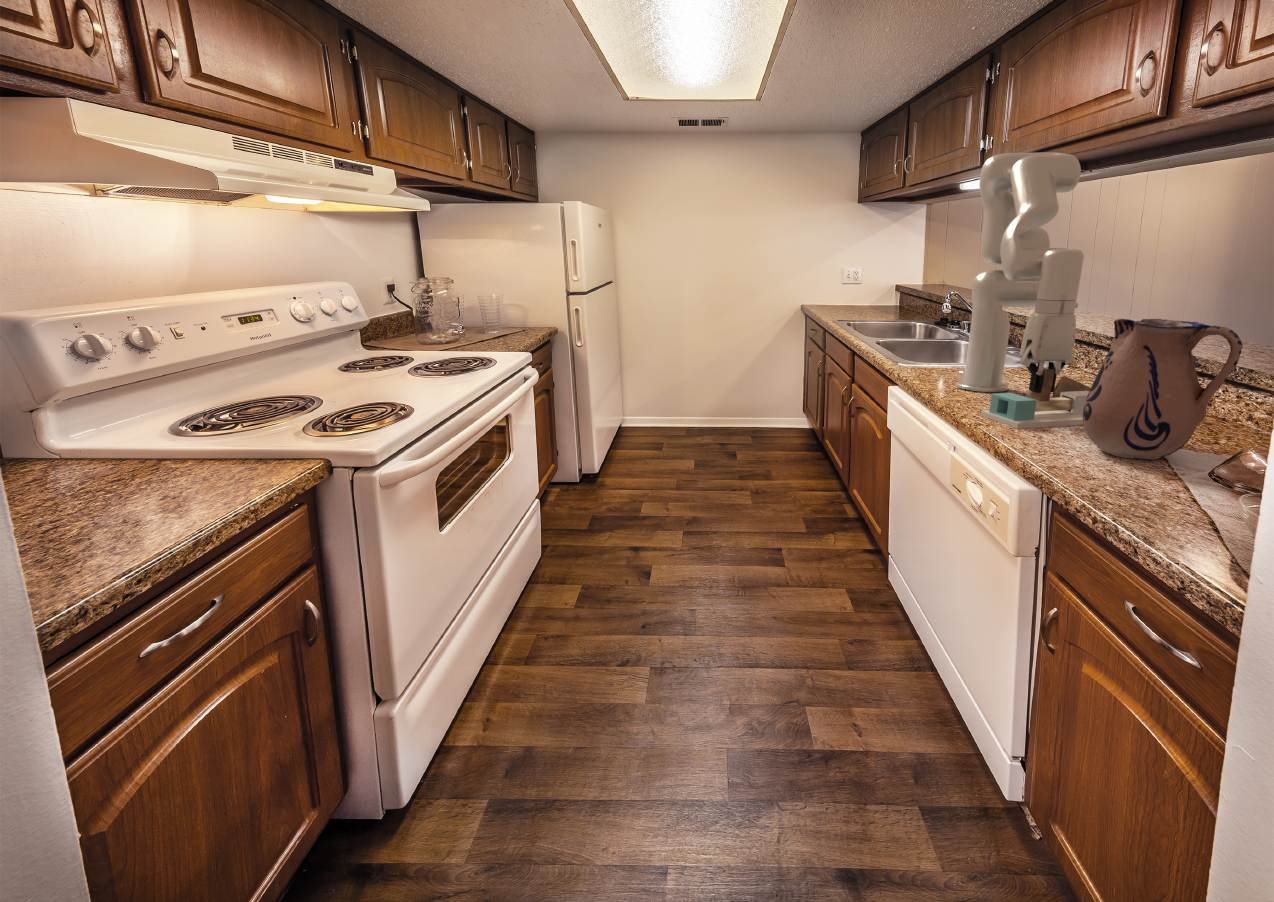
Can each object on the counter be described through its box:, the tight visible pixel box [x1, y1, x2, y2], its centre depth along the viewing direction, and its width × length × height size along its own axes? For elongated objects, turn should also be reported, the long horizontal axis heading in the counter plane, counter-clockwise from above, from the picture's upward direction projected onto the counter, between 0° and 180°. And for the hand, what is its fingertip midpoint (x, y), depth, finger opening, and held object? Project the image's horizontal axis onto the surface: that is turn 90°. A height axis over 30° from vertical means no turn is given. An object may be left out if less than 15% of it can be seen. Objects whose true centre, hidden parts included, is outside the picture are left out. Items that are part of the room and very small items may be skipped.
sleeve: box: [1058, 391, 1089, 415], centre depth 158 cm, size 7×4×4 cm, turn 101°
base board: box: [980, 409, 1084, 429], centre depth 157 cm, size 26×12×1 cm, turn 101°
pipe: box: [1051, 375, 1091, 398], centre depth 174 cm, size 6×17×10 cm
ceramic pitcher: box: [1083, 318, 1243, 461], centre depth 127 cm, size 18×21×25 cm
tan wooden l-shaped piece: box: [1029, 367, 1073, 412], centre depth 156 cm, size 17×3×9 cm, turn 101°
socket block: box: [989, 392, 1037, 421], centre depth 155 cm, size 5×8×4 cm, turn 11°
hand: (1041, 390), depth 155 cm, fingers closed on tan wooden l-shaped piece, 2 cm apart
